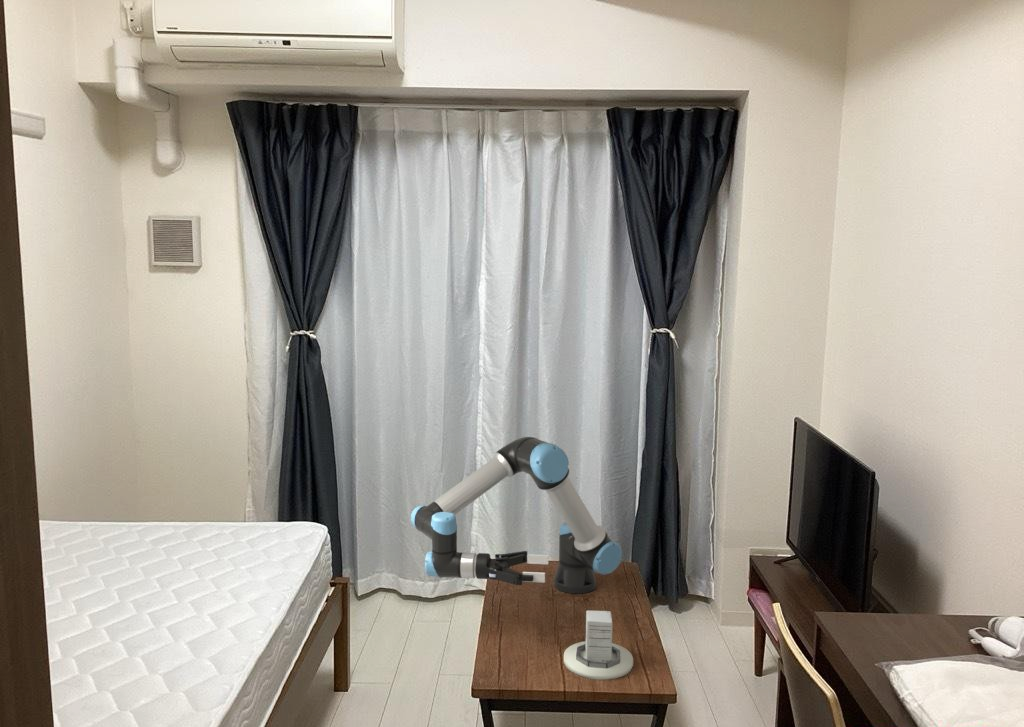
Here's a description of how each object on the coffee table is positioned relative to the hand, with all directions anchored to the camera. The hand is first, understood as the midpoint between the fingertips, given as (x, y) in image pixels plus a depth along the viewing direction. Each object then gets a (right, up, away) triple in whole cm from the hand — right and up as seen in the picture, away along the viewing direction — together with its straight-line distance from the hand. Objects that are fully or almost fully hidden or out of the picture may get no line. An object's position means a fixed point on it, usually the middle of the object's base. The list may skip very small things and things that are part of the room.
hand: (546, 568), depth 238 cm
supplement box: (+15, -24, -8) cm, 29 cm away
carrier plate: (+15, -25, -7) cm, 30 cm away
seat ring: (+15, -24, -7) cm, 29 cm away
